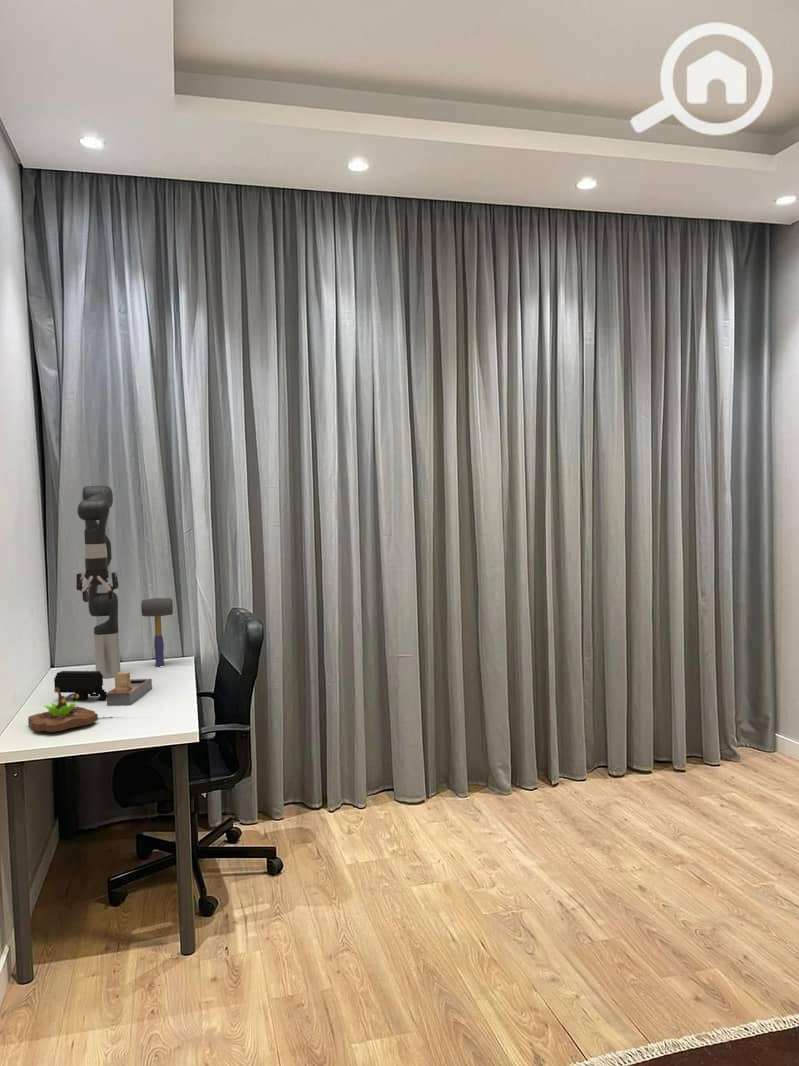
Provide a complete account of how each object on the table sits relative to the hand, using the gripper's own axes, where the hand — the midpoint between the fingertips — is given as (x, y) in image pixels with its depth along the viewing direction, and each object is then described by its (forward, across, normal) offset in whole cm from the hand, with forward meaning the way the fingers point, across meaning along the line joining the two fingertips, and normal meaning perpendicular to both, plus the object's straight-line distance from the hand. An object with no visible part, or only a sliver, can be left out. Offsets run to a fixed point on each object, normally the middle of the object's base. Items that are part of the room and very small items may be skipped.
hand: (98, 601), depth 306 cm
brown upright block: (+33, -11, +10) cm, 36 cm away
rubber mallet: (+36, -7, -45) cm, 58 cm away
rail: (+34, -11, +3) cm, 36 cm away
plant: (+34, +1, +35) cm, 49 cm away
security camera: (+34, +5, +5) cm, 35 cm away
